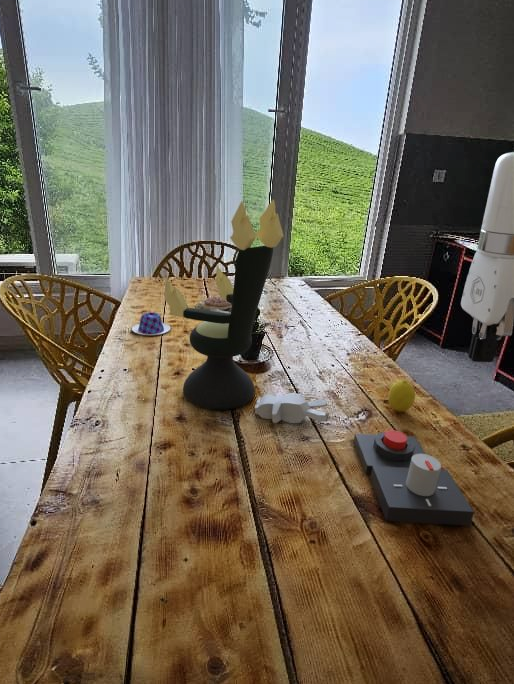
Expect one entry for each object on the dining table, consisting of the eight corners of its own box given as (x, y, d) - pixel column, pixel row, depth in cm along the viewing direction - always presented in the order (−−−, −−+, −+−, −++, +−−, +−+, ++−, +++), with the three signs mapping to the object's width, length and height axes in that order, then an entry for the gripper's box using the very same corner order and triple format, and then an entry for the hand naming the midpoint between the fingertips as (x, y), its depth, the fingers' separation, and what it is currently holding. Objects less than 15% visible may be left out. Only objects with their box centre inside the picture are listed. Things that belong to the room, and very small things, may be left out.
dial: (402, 477, 75) (408, 451, 73) (428, 478, 75) (435, 452, 73) (411, 495, 70) (417, 468, 68) (439, 497, 70) (446, 469, 68)
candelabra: (214, 369, 117) (219, 189, 100) (288, 396, 105) (308, 197, 88) (164, 396, 102) (160, 192, 85) (243, 431, 91) (257, 202, 74)
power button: (401, 438, 84) (403, 430, 84) (408, 451, 81) (410, 443, 80) (380, 437, 84) (381, 429, 84) (386, 449, 81) (388, 441, 80)
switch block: (413, 445, 88) (417, 428, 87) (432, 479, 79) (437, 460, 78) (353, 442, 89) (356, 425, 87) (365, 475, 79) (368, 457, 78)
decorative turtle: (186, 304, 167) (186, 291, 166) (226, 300, 174) (227, 288, 172) (204, 320, 152) (204, 306, 150) (247, 315, 159) (248, 301, 157)
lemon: (387, 416, 98) (393, 384, 95) (383, 404, 103) (389, 373, 100) (413, 419, 98) (420, 387, 94) (408, 407, 103) (415, 376, 100)
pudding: (177, 333, 140) (176, 317, 138) (141, 340, 133) (140, 323, 132) (160, 321, 149) (160, 306, 147) (126, 327, 143) (125, 312, 141)
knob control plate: (443, 483, 78) (447, 468, 77) (469, 526, 69) (474, 511, 68) (369, 479, 78) (372, 464, 77) (385, 522, 69) (389, 506, 68)
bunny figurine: (259, 386, 100) (327, 389, 97) (260, 406, 102) (327, 409, 99) (251, 407, 92) (325, 410, 88) (253, 428, 94) (325, 432, 90)
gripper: (458, 236, 71) (438, 341, 78) (508, 253, 57) (478, 380, 64) (506, 236, 71) (481, 342, 78) (568, 254, 57) (531, 381, 64)
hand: (480, 359), depth 71 cm, fingers closed
